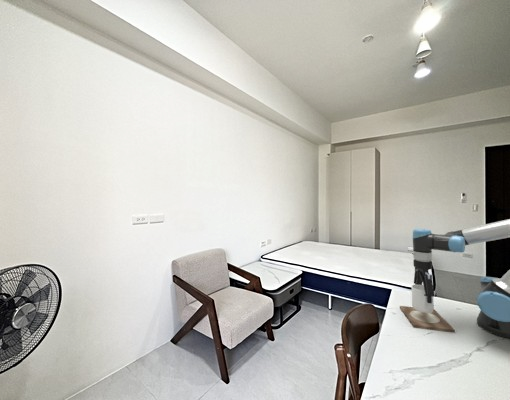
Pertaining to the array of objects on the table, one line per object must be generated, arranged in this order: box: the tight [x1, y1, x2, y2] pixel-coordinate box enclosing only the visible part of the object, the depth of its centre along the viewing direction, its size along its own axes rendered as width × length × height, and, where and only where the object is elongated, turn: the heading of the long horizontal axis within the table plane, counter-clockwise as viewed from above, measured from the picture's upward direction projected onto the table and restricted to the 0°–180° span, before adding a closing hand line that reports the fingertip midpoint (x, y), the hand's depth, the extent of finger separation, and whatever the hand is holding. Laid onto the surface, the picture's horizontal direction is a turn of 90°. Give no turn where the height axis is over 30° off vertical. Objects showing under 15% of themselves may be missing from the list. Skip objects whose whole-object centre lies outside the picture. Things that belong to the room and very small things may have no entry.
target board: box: [399, 305, 456, 334], centre depth 111 cm, size 16×20×1 cm
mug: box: [411, 284, 435, 313], centre depth 112 cm, size 9×12×11 cm
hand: (423, 304), depth 111 cm, fingers closed on mug, 10 cm apart
